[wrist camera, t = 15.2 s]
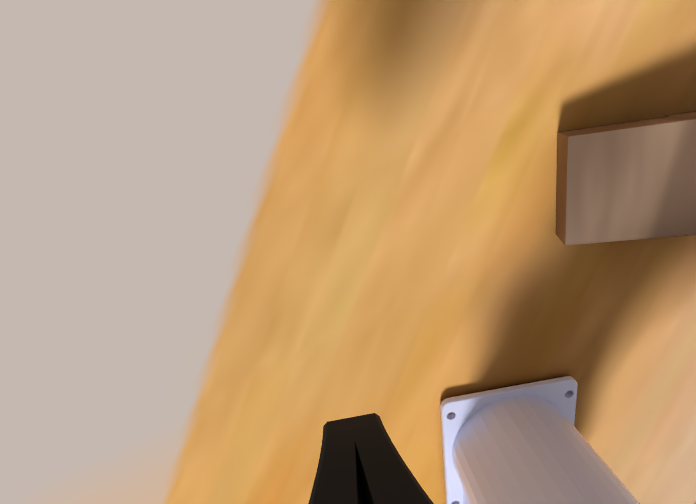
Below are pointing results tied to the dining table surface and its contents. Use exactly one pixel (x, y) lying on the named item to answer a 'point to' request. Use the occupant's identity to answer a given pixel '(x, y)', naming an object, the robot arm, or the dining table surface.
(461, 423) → the robot arm
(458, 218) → the dining table surface
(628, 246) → the dining table surface
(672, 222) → the domino
